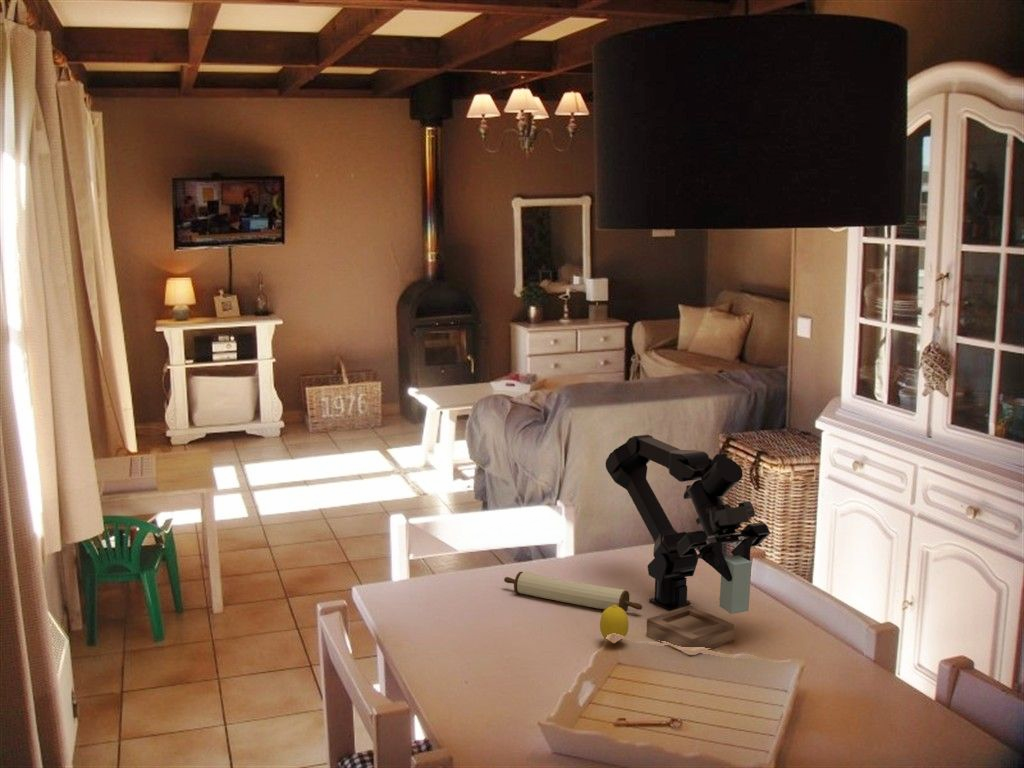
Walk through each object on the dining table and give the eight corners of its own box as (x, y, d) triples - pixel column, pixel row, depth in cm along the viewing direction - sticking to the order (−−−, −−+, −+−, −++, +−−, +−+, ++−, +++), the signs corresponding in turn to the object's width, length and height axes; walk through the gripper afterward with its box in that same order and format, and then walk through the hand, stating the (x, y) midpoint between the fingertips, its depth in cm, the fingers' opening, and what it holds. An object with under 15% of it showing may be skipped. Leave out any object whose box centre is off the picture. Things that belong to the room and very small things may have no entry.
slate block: (719, 606, 203) (722, 557, 201) (736, 603, 205) (739, 555, 203) (731, 614, 200) (734, 564, 198) (748, 611, 201) (751, 562, 199)
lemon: (626, 651, 199) (627, 611, 198) (597, 648, 200) (598, 609, 199) (629, 639, 204) (630, 601, 203) (601, 636, 205) (602, 598, 204)
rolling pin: (498, 594, 228) (498, 572, 227) (510, 585, 233) (510, 564, 232) (637, 622, 213) (637, 599, 213) (646, 612, 218) (647, 590, 217)
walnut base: (646, 635, 206) (647, 618, 206) (688, 621, 214) (688, 605, 213) (691, 656, 197) (692, 639, 196) (733, 640, 204) (734, 624, 204)
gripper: (687, 492, 198) (717, 567, 190) (767, 483, 205) (800, 554, 197) (663, 520, 206) (691, 592, 199) (741, 510, 214) (771, 579, 206)
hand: (739, 579), depth 200 cm, fingers closed on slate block, 4 cm apart
